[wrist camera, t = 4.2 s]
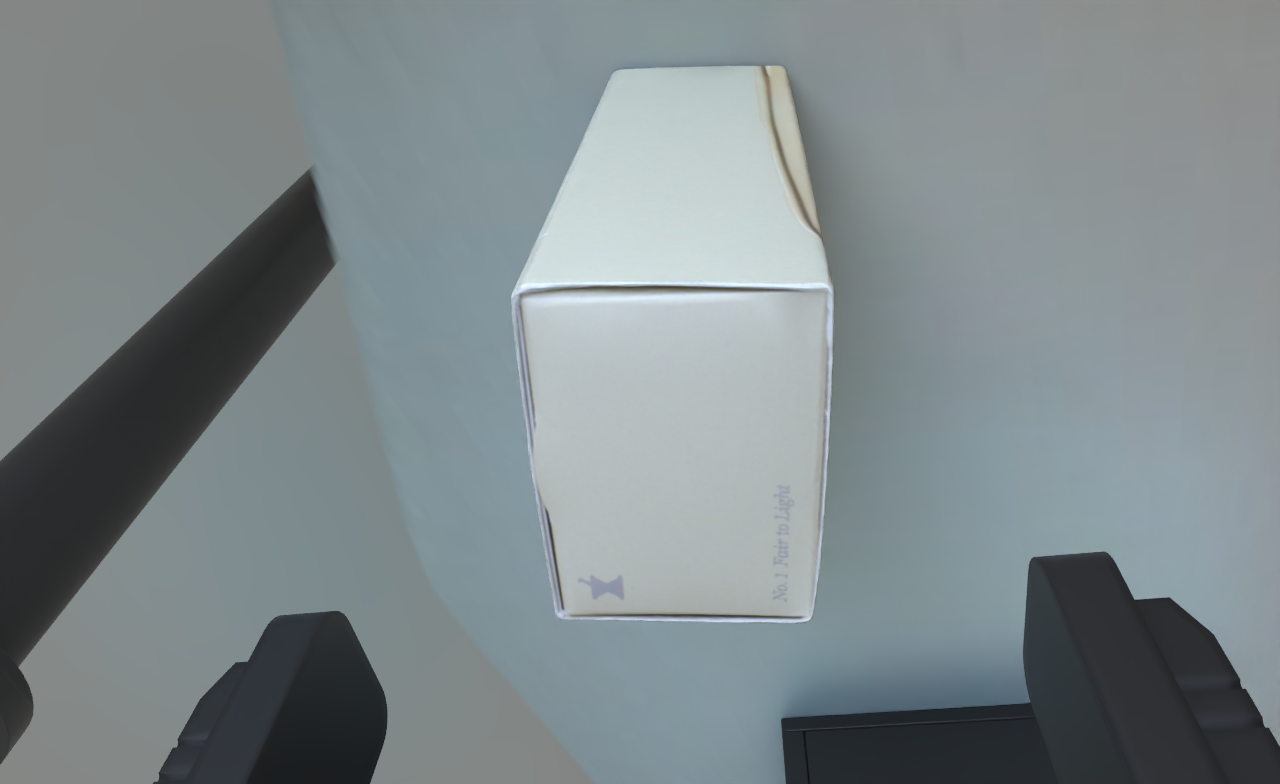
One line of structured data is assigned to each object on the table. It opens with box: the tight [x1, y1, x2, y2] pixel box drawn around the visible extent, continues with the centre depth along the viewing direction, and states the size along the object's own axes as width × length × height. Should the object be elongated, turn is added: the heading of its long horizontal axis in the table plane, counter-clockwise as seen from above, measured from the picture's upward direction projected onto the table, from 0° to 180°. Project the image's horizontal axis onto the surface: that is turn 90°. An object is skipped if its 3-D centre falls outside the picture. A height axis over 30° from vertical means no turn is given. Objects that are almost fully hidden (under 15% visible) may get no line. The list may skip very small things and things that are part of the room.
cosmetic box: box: [511, 66, 835, 623], centre depth 18 cm, size 6×4×12 cm
